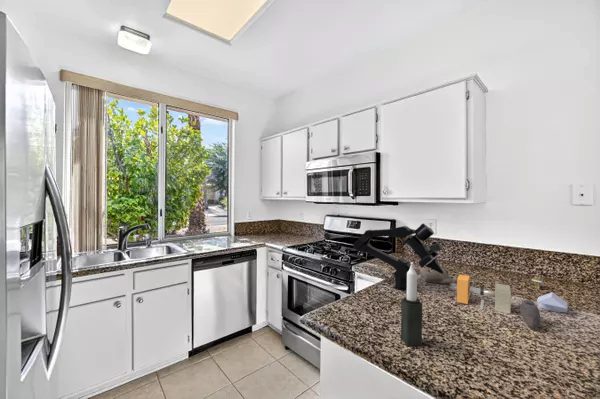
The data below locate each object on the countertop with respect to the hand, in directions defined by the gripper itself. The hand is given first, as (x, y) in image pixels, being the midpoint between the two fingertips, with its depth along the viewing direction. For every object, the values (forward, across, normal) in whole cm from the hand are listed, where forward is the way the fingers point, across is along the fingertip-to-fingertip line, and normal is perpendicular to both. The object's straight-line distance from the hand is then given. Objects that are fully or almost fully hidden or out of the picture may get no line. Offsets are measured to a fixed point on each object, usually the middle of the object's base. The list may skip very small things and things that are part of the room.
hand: (442, 273), depth 124 cm
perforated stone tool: (+30, -11, -13) cm, 34 cm away
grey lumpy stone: (+4, +24, +12) cm, 27 cm away
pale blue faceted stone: (+36, +13, -20) cm, 43 cm away
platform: (+35, +48, -19) cm, 62 cm away
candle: (+7, -52, +9) cm, 53 cm away
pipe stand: (+18, 0, -2) cm, 18 cm away
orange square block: (+14, 0, +2) cm, 14 cm away
